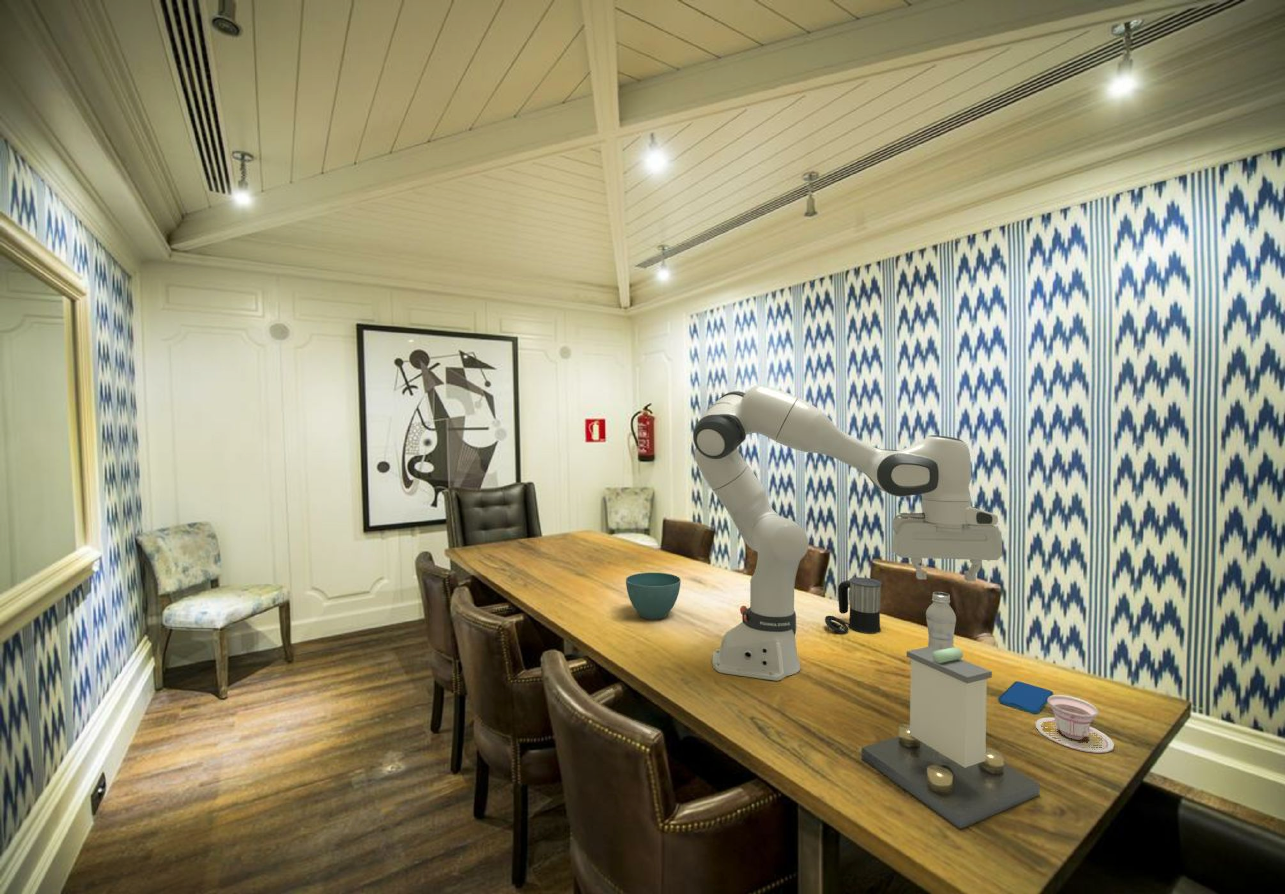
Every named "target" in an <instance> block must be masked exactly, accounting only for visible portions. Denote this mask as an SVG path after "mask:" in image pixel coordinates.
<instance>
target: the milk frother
mask: <svg viewBox="0 0 1285 894" xmlns="http://www.w3.org/2000/svg"><path fill="white" fill-rule="evenodd" d="M881 585H882V582H881V581H879V580H877V579H874V578H870V577H861V576H860V577H859V576H857V577H851V578H849V580H844V581H841V582H840V583H839V584H838V587H837V592H838V595H837V599H838V611H839V613H840V614H843V615H844V614H847V613H848V612H849V618H848V620H849V621H848V622H849V623H848V622H846V621H844V620H842V619H841V618H839V617H836V616H834V615H826V616H825V617H824V622H825V624H826V626H827V627H828V628H829V629H831V630H832V631H834V633H839V634H847V633H849V629H851V630H853V631H855V632H858V631H859V632H858V633H863V632H866V633H865V634H877V633H876V632H878V633H880V632H881V630H882V629H881V628H882V627H881V614H880V613H881ZM848 589H849V591H848ZM842 627H843V628H842Z"/></svg>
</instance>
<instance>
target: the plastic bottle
mask: <svg viewBox="0 0 1285 894" xmlns="http://www.w3.org/2000/svg"><path fill="white" fill-rule="evenodd" d="M950 596H951V595H950V594H949V593H946V592H942V591H934V592H932V598H931V601H932V603H931V604H930V605H929V606H928V608H927V609H926V612H925V618H926V624H927V625H926V626H927V635H928V645H927V647H932V648H935V649H937V650H943V649H948V648H953V647H954V641H955V637H954V636H955V629H956V628H955V627H956V623H957V616H956V613H955V612H954V610H953V608H952V607H951V605H950V603H951V600H950V599H951V597H950Z"/></svg>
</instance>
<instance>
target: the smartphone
mask: <svg viewBox="0 0 1285 894" xmlns="http://www.w3.org/2000/svg"><path fill="white" fill-rule="evenodd" d="M1052 695H1054V692H1053V691H1052V690H1050V689H1047V688H1044V687H1040V686H1036V685H1033V684H1029V683H1026V682H1022V681H1014V682H1013V683H1012V684H1011V685H1010V686H1009V687H1008V688H1007V689H1006V690H1005V691H1004V692H1003V693H1002V694H1001V695H1000V696H998V698H997V699H998V700H997V702H998V701H999V702H1000V703H999V702H998V703H999V704H1001V703H1002V704H1001V705H1004V706H1007V705H1008V706H1007V707H1010V708H1013V707H1014V708H1013V709H1016V708H1018V709H1017V710H1019V709H1020V711H1022V710H1024V711H1023V712H1025V711H1026V712H1025V713H1028V712H1030V713H1029V714H1031V713H1032V714H1031V715H1039V714H1040V712H1041V711H1042V710H1043V709H1044V707H1045V706H1046V704H1048V702H1047V699H1048V697H1050V696H1052ZM1044 705H1045V706H1044ZM1041 709H1042V710H1041ZM1040 710H1041V711H1040ZM1038 713H1039V714H1038Z"/></svg>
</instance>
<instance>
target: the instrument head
mask: <svg viewBox="0 0 1285 894" xmlns="http://www.w3.org/2000/svg"><path fill="white" fill-rule="evenodd" d="M963 656H964V653H963V651H962V649H961V648H960V647H958V646H955V647H953V648H948V649H943V650H937V649H935V648H932V647H928V646H925V647H922V648H921V647H920V648H916V649H911V650H906V657H907V658H909V659H910V689H909V690H910V694H909V696H910V697H909V698H910V700H909V725H910V735H911V736H913V737H914V738H916V739H918V740H919V741H921V742H923V743H924V744H926V745H928V746H929V747H931V748H933V749H934V750H936V751H938V757H939V759H940V760H941V761H942V762H943V763H945V764H950V763H952V762H953V761H954V762H956V763H958V764H959V765H961V766H963V767H964V768H966V767H969V766H972V765H975V764H978V763H981V762H983V761H985V752H986V748H987V746H986V743H987V742H986V740H987V688H988V687H987V685H988V683H987V682H988V680H987V679H992V677H993V671H991V670H990V669H987V668H984V667H982V666H979V665H977V664H974V663H973V662H969V661H967V660H964V659H962V658H963Z"/></svg>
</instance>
